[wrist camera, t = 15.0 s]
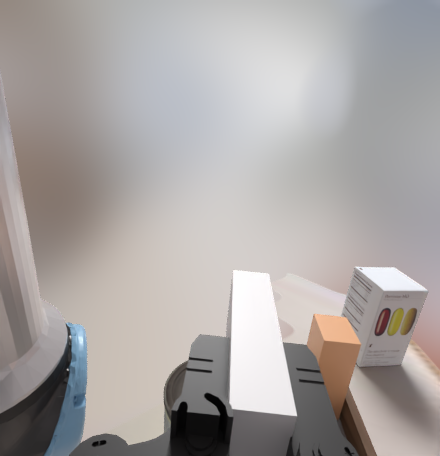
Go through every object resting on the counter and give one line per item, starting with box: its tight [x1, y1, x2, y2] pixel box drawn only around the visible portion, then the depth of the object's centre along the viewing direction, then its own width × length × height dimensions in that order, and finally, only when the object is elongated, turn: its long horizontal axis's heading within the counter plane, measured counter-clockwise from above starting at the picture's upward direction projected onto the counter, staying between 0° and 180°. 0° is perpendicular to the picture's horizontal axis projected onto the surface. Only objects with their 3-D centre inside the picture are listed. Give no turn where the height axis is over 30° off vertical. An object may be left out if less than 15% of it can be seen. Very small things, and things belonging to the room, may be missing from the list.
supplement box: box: [341, 267, 428, 367], centre depth 61 cm, size 10×9×17 cm
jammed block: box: [307, 314, 361, 420], centre depth 47 cm, size 5×6×14 cm
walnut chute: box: [337, 387, 377, 456], centre depth 42 cm, size 8×24×5 cm, turn 177°
